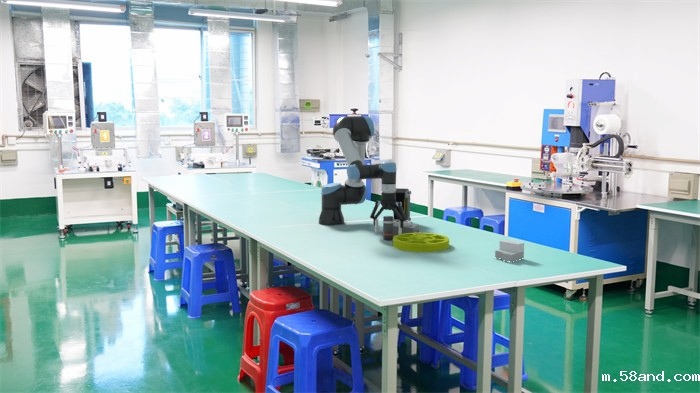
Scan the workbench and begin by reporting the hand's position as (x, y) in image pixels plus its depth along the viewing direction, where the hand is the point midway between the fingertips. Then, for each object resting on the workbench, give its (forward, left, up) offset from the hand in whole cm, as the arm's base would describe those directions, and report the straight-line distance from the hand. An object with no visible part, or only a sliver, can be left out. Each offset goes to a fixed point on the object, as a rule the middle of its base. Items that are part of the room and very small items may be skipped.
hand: (388, 232), depth 327 cm
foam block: (+67, -20, -4) cm, 70 cm away
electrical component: (-8, +43, -4) cm, 44 cm away
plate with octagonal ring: (+2, +16, -3) cm, 16 cm away
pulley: (+20, -7, -4) cm, 22 cm away
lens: (0, 0, -3) cm, 3 cm away
